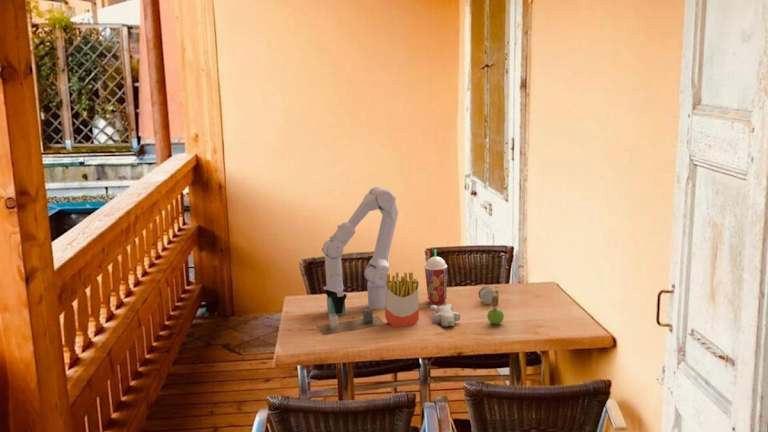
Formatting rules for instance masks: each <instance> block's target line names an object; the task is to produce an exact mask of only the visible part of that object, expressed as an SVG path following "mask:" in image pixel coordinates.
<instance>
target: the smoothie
mask: <svg viewBox="0 0 768 432" xmlns="http://www.w3.org/2000/svg"><path fill="white" fill-rule="evenodd" d="M433 251H434V253H433V254H434V256H432V257H430V258H429V259H428V260H426V262H425V265H424V273H425V283H426V294H427V300H428V301H429V303H430V304H431V305H441V304H445V302H446V300H447V290H448V289H447V288H448V287H447V285H448V284H447V283H448V265H447V264H446V261H445V259H443V258H442V257H440V256H437V249H436V248H435V249H434V250H433Z"/></svg>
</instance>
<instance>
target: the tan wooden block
mask: <svg viewBox="0 0 768 432" xmlns="http://www.w3.org/2000/svg"><path fill="white" fill-rule="evenodd" d="M338 322H339V316H338V315H337V314H331V315H330V314H328V324H329V328H330V329H331V330H334V329H339V323H338Z"/></svg>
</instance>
